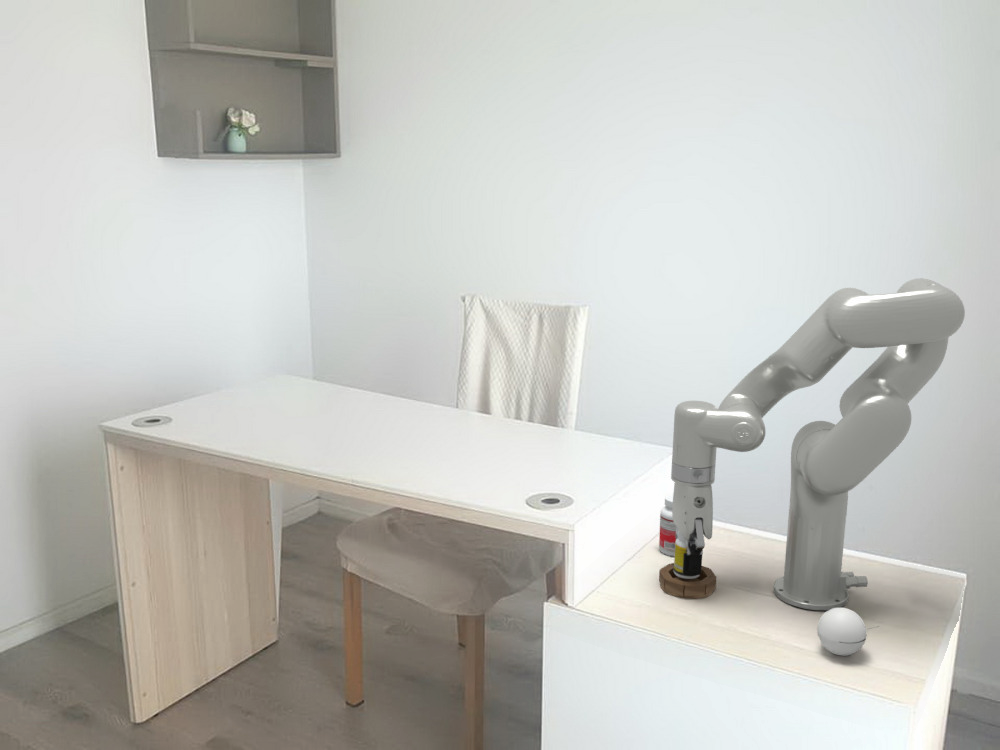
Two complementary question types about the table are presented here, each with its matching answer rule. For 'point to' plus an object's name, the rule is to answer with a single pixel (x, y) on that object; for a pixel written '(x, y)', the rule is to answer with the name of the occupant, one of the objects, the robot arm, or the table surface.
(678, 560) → the supplement bottle
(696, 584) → the holder
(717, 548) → the table surface
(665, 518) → the pill bottle
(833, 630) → the white sphere
